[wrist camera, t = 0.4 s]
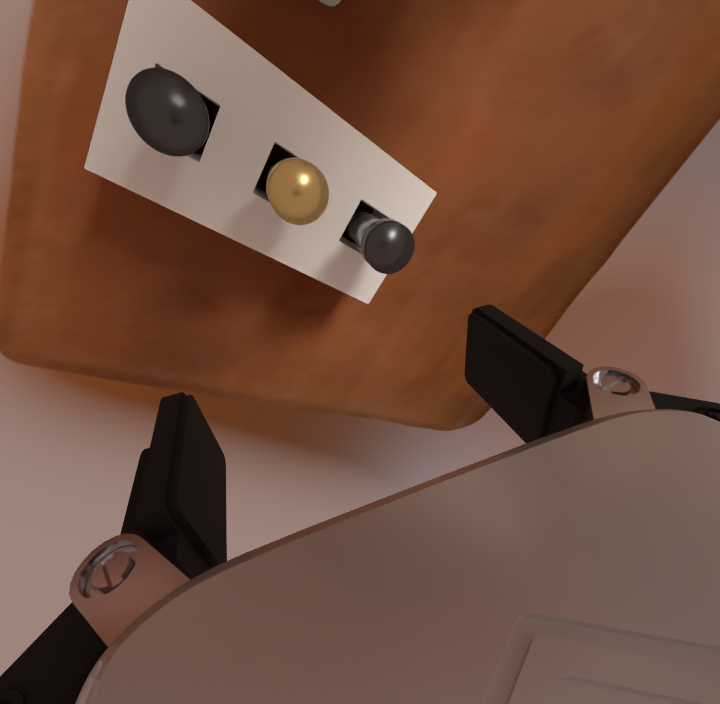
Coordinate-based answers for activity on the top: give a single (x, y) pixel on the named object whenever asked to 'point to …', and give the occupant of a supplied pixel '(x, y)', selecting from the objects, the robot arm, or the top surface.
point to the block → (248, 147)
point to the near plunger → (167, 112)
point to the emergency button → (330, 2)
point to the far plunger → (382, 242)
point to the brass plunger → (297, 191)
